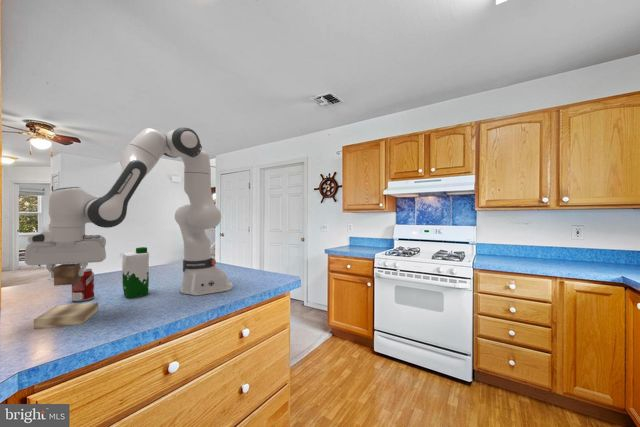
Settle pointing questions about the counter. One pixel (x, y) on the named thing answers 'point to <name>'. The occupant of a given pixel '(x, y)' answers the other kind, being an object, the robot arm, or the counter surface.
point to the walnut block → (66, 274)
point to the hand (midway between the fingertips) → (67, 276)
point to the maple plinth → (66, 315)
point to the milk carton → (135, 273)
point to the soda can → (84, 287)
